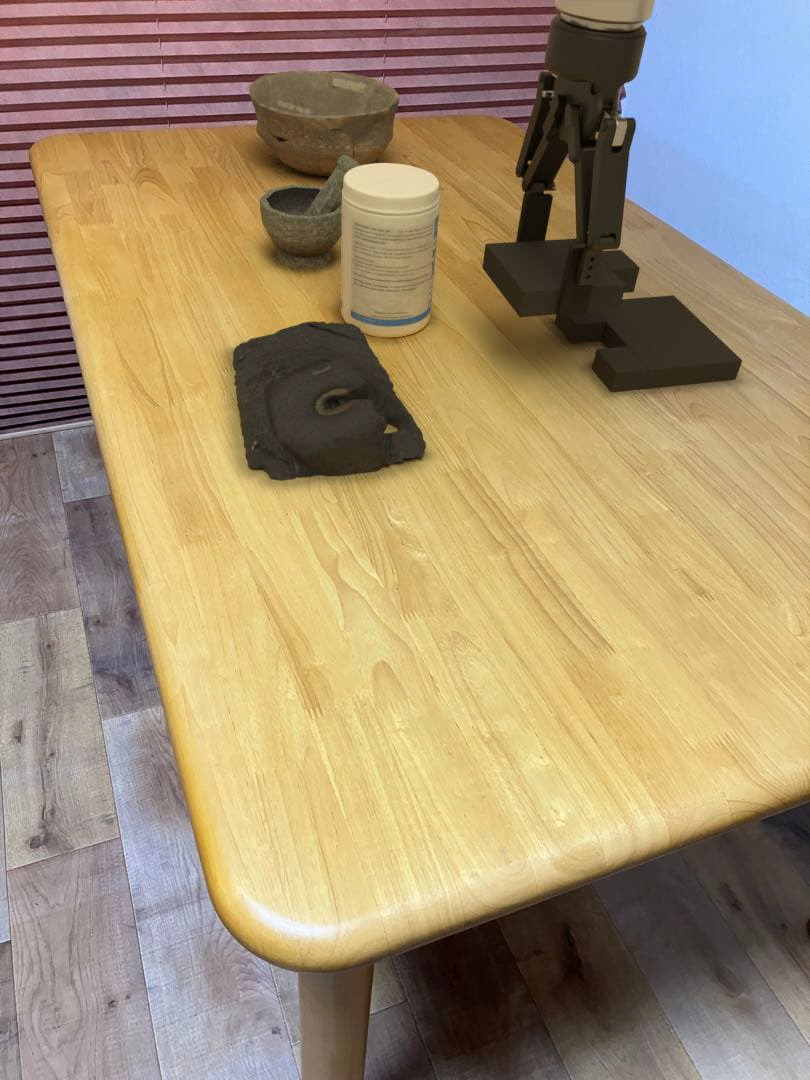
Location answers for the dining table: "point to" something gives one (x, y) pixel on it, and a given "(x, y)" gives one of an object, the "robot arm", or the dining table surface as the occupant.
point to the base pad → (651, 345)
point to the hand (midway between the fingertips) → (547, 286)
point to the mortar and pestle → (306, 219)
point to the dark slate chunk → (319, 404)
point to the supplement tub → (388, 248)
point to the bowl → (323, 118)
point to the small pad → (553, 275)
